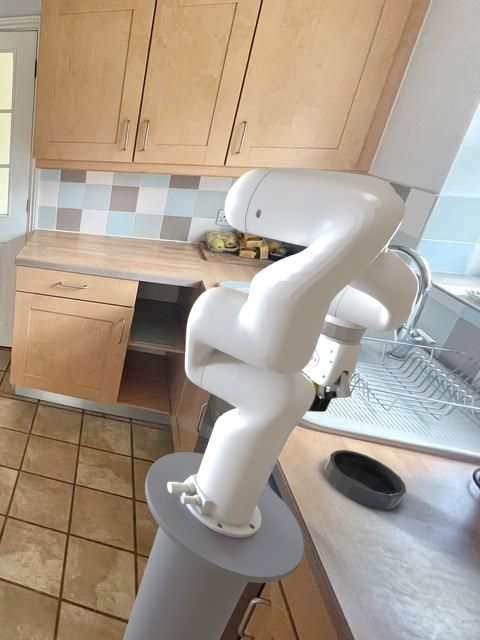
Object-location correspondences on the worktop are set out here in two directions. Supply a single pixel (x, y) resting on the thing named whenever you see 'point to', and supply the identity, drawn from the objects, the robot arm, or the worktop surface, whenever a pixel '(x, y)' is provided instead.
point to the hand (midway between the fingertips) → (305, 399)
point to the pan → (364, 479)
